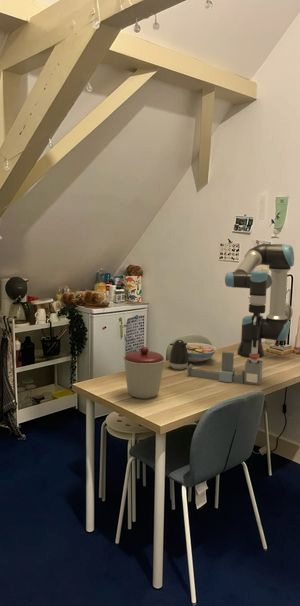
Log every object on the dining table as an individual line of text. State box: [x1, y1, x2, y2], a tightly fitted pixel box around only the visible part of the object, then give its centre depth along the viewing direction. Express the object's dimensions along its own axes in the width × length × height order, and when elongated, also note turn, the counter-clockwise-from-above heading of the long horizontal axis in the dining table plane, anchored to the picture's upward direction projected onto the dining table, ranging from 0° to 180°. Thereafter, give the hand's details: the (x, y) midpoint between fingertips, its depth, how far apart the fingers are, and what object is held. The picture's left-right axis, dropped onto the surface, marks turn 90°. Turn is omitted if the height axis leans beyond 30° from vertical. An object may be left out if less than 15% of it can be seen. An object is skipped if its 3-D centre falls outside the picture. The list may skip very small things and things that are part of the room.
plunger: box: [249, 353, 259, 363], centre depth 212 cm, size 5×5×7 cm
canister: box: [122, 346, 166, 400], centre depth 192 cm, size 18×18×21 cm
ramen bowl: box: [169, 342, 218, 363], centre depth 248 cm, size 25×23×8 cm
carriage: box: [218, 350, 236, 384], centre depth 214 cm, size 7×6×14 cm
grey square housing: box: [243, 358, 263, 386], centre depth 213 cm, size 7×7×10 cm
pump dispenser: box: [168, 339, 190, 370], centre depth 232 cm, size 10×10×15 cm
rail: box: [186, 363, 245, 385], centre depth 217 cm, size 5×27×5 cm, turn 69°
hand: (254, 353), depth 211 cm, fingers closed
